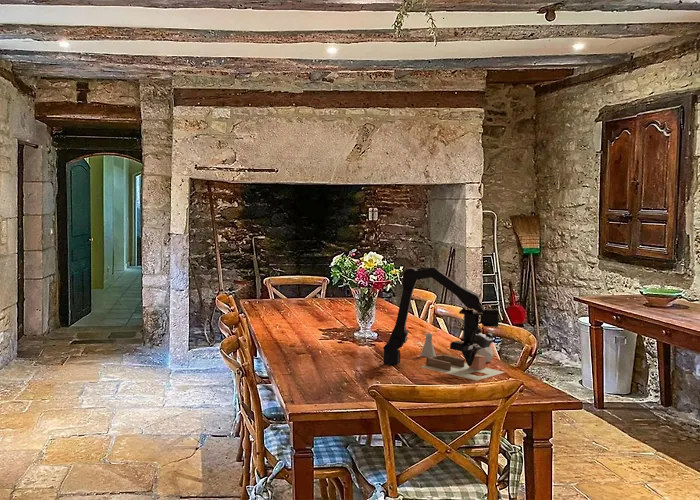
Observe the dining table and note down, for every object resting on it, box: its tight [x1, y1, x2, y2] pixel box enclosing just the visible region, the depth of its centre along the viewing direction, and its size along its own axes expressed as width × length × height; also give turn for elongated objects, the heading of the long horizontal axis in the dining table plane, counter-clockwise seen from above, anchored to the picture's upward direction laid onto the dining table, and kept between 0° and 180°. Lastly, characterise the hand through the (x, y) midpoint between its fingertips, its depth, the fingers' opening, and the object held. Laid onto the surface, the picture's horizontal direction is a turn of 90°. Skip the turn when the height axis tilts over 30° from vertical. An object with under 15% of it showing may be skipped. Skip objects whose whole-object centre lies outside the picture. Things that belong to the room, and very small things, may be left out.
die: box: [475, 345, 495, 363], centre depth 285 cm, size 8×9×10 cm
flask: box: [419, 333, 437, 358], centre depth 292 cm, size 7×7×10 cm
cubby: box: [425, 353, 466, 371], centre depth 273 cm, size 10×11×3 cm
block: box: [469, 355, 487, 370], centre depth 272 cm, size 4×4×4 cm
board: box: [421, 362, 505, 382], centre depth 269 cm, size 19×26×1 cm
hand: (469, 365), depth 269 cm, fingers closed
